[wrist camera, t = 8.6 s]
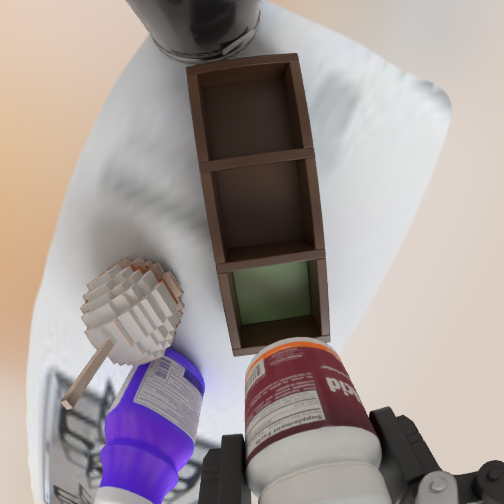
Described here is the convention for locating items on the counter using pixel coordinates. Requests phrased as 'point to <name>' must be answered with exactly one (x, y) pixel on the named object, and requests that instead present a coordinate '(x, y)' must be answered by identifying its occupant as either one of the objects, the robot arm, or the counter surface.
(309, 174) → the organiser
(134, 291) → the decorative ornament
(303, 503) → the pill bottle
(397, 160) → the counter surface
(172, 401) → the bottle
